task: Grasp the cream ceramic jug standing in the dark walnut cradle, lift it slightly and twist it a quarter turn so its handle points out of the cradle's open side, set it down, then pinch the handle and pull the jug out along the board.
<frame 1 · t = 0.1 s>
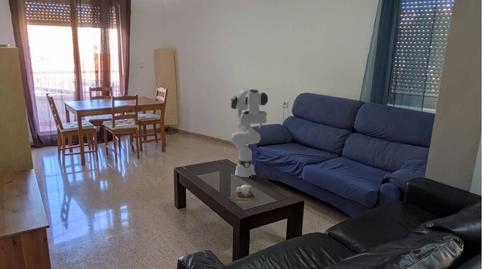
hand: (253, 129, 258), 48 cm above the table, fingers open, 8 cm apart
jug: (245, 195, 251), point 1 cm above the table, touching cradle board
cradle board: (245, 197, 250), on the table
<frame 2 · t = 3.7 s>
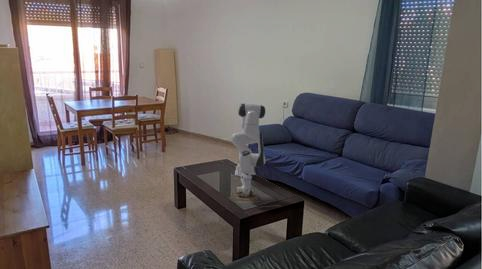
hand: (245, 190, 251), 4 cm above the table, fingers closed on jug, 6 cm apart
jug: (245, 194, 252), point 1 cm above the table, touching cradle board, gripper
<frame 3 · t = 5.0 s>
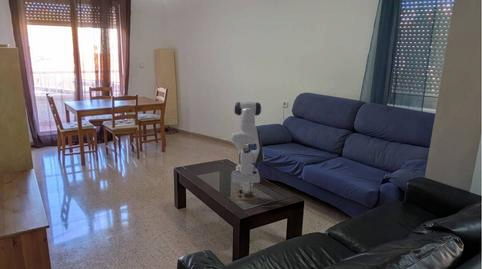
hand: (246, 187, 250), 7 cm above the table, fingers closed on jug, 6 cm apart
jug: (246, 191, 252), point 3 cm above the table, touching gripper
when the fingers open (4 cm above the table, at t = 6.6 s): jug stays where it is, resting on cradle board.
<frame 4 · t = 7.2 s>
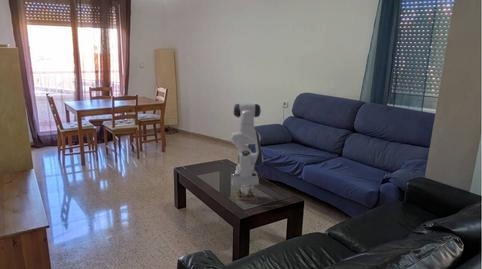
hand: (245, 190, 251), 4 cm above the table, fingers open, 8 cm apart
jug: (244, 194, 252), point 1 cm above the table, touching cradle board
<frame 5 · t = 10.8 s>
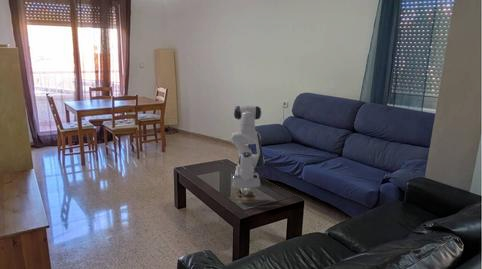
hand: (246, 192, 246), 5 cm above the table, fingers closed on jug
jug: (244, 194, 253), point 1 cm above the table, touching cradle board, gripper
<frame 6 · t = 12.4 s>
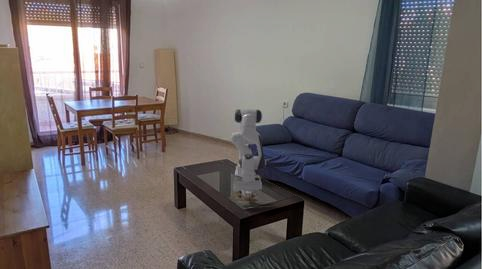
hand: (247, 195, 240), 5 cm above the table, fingers closed on jug
jug: (246, 197, 247), point 1 cm above the table, touching cradle board, gripper
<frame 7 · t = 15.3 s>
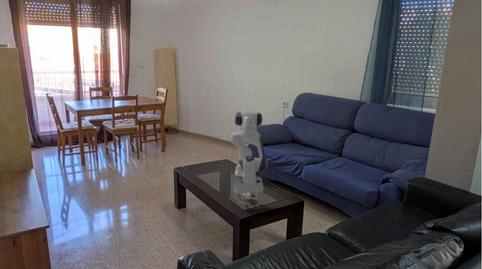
hand: (248, 198, 237), 5 cm above the table, fingers open, 8 cm apart
jug: (246, 198, 245), point 1 cm above the table, touching cradle board
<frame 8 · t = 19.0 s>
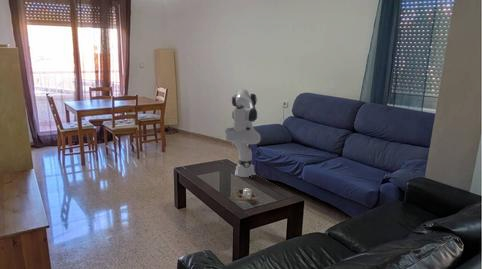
hand: (239, 145, 251), 37 cm above the table, fingers open, 8 cm apart
nothing on the table moved.
at the end: jug inside the target area on the cradle board (2.5 cm from its centre), point 1.0 cm above the cradle board's base; jug tilted 0°; the gripper is holding nothing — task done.
